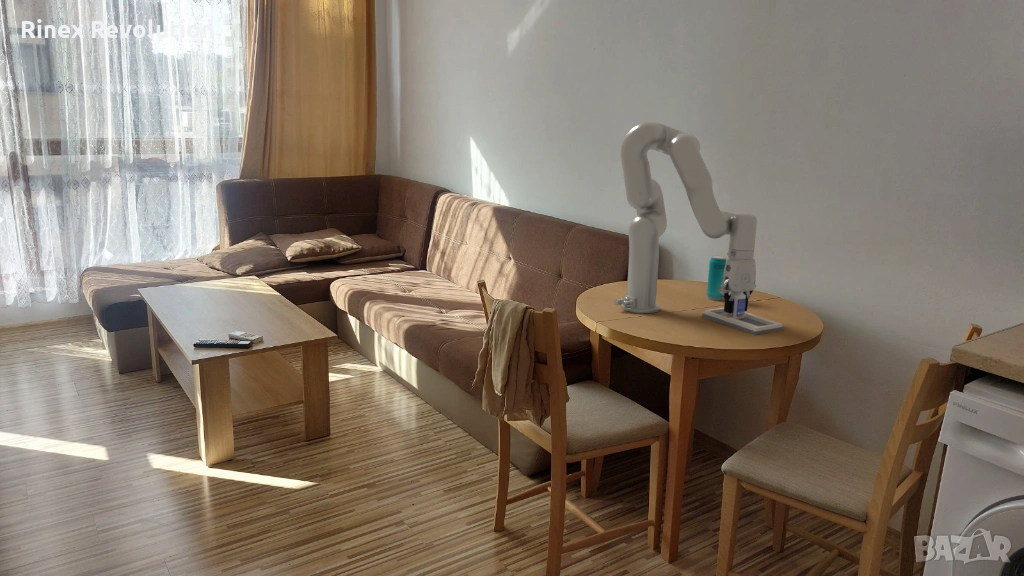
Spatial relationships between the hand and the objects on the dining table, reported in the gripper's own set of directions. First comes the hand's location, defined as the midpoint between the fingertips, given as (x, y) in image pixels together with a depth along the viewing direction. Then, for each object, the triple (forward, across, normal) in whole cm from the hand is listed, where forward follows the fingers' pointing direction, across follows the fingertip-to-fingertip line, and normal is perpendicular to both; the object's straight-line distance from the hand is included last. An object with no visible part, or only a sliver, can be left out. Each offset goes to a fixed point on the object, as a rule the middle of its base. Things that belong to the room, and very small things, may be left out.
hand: (735, 310), depth 233 cm
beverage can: (+3, +15, +24) cm, 29 cm away
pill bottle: (+2, 0, 0) cm, 2 cm away
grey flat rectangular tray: (+3, 0, -3) cm, 4 cm away
